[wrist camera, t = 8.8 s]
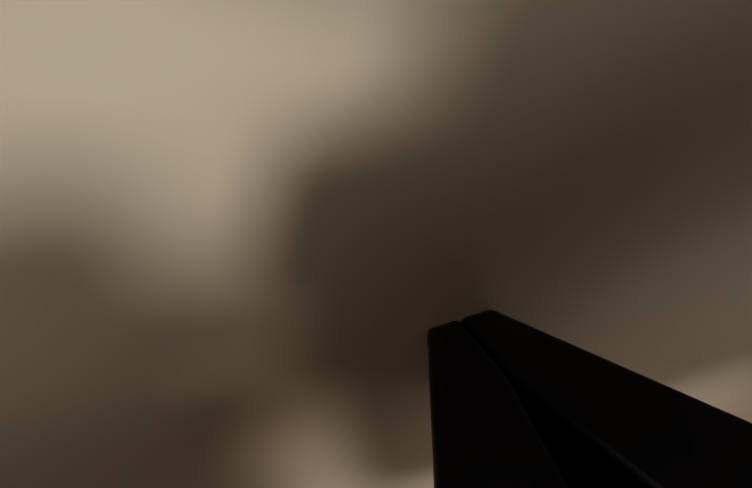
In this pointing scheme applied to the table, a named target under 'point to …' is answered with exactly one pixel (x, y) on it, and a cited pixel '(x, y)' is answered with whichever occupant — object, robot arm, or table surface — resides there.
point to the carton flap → (351, 221)
